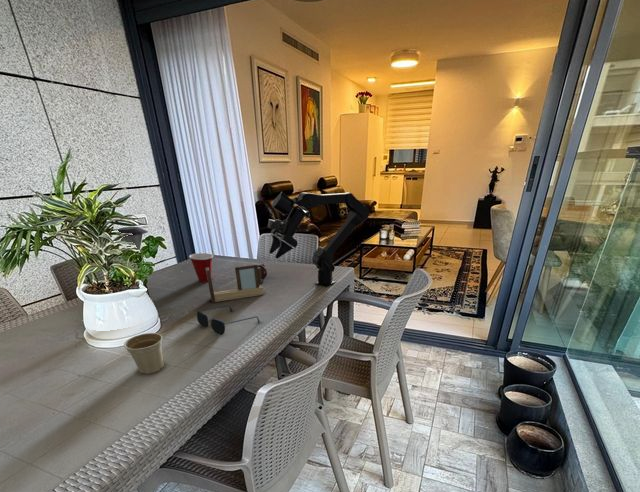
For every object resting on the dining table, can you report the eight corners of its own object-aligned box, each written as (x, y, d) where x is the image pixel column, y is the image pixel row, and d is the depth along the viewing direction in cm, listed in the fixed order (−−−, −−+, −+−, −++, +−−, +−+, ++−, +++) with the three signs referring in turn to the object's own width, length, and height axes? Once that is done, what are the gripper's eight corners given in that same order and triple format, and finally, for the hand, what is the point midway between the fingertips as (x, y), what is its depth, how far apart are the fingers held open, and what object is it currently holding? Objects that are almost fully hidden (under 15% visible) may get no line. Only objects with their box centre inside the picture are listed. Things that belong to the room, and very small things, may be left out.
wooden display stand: (261, 291, 152) (257, 261, 146) (263, 294, 148) (260, 264, 142) (211, 298, 146) (205, 267, 139) (212, 302, 141) (206, 270, 135)
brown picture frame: (261, 289, 150) (258, 263, 145) (262, 290, 148) (260, 265, 143) (238, 292, 147) (234, 266, 142) (239, 294, 145) (235, 268, 140)
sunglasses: (196, 323, 123) (195, 309, 121) (231, 315, 133) (231, 303, 132) (224, 337, 113) (223, 322, 111) (260, 328, 123) (260, 314, 121)
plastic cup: (214, 283, 164) (209, 257, 158) (191, 283, 164) (185, 258, 158) (220, 276, 173) (216, 252, 168) (198, 277, 173) (193, 252, 168)
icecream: (264, 270, 158) (272, 264, 171) (248, 266, 158) (257, 260, 171) (262, 284, 161) (269, 277, 174) (246, 280, 161) (255, 274, 174)
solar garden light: (170, 300, 145) (152, 224, 131) (159, 312, 134) (138, 230, 120) (141, 301, 145) (119, 225, 130) (127, 313, 134) (102, 231, 120)
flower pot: (146, 381, 91) (137, 352, 87) (125, 371, 96) (116, 344, 92) (176, 365, 98) (169, 337, 94) (155, 357, 103) (148, 330, 99)
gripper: (270, 207, 145) (251, 240, 148) (283, 213, 130) (262, 249, 132) (292, 223, 151) (273, 254, 154) (307, 229, 136) (285, 264, 138)
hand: (273, 255), depth 144 cm, fingers open, 9 cm apart
